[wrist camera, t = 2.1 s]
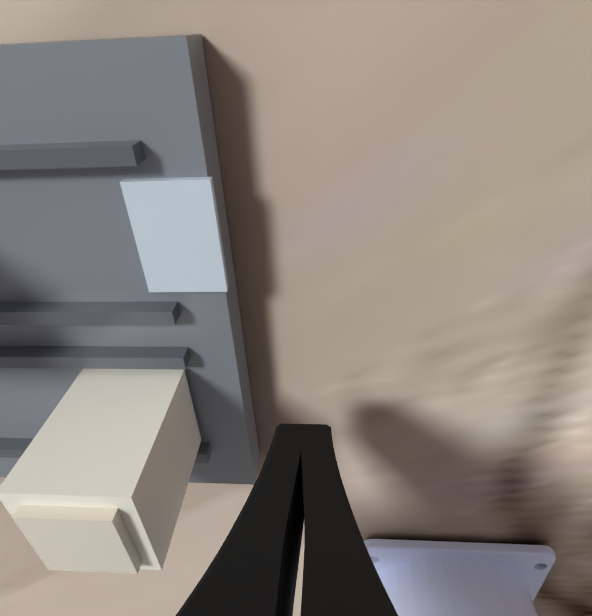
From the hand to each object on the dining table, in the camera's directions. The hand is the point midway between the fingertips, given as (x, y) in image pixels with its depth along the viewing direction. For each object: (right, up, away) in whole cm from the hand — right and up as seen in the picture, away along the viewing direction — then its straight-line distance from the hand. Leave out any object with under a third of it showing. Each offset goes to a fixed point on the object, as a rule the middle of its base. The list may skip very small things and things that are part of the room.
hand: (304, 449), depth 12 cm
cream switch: (-5, +1, +2) cm, 5 cm away
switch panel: (-8, +4, +2) cm, 9 cm away
